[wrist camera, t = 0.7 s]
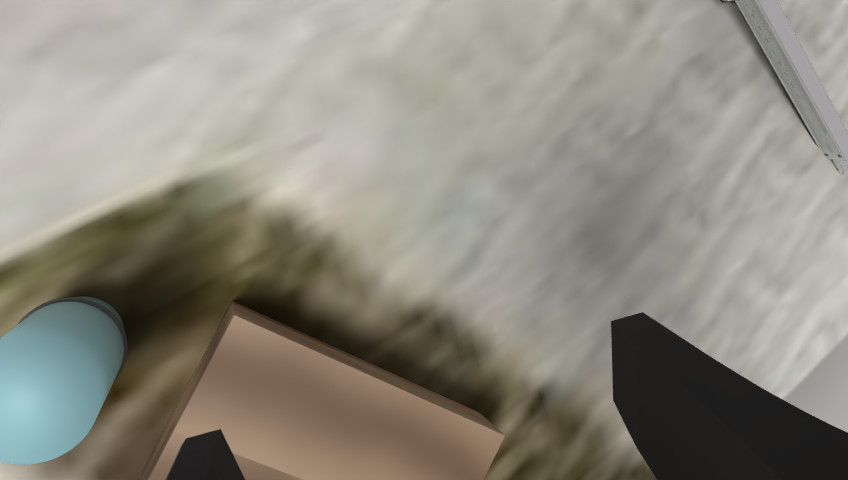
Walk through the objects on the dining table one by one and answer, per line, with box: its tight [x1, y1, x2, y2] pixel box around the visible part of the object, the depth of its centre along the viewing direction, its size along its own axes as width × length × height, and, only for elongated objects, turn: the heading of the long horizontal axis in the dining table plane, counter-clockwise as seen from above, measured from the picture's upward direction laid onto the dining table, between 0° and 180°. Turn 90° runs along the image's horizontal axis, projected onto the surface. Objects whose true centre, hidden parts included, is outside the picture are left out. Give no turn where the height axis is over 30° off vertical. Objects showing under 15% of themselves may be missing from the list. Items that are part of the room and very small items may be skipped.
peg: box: [0, 296, 128, 465], centre depth 25 cm, size 4×4×9 cm
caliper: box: [720, 0, 848, 174], centre depth 35 cm, size 21×1×6 cm, turn 49°
